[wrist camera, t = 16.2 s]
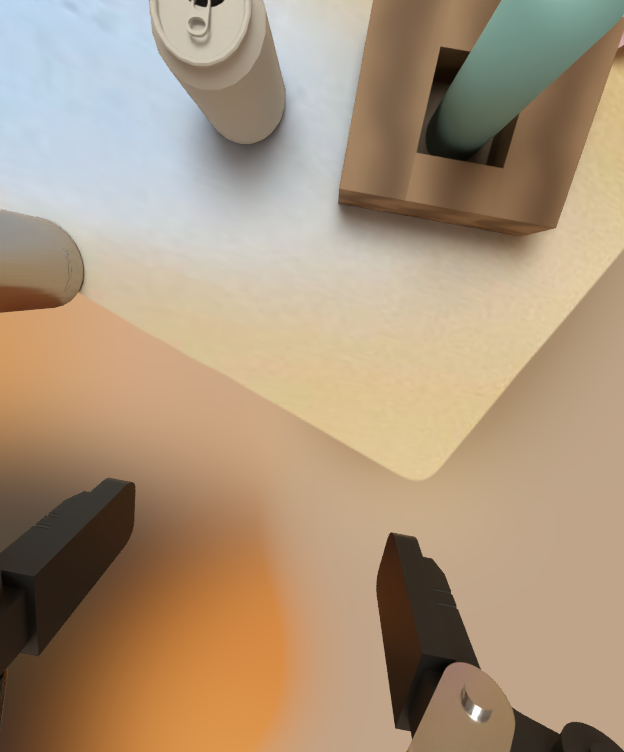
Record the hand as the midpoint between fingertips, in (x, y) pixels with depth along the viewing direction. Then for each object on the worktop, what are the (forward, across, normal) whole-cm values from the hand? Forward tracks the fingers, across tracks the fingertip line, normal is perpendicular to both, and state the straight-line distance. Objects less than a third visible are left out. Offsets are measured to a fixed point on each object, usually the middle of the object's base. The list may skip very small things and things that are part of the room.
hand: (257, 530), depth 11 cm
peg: (+27, -9, -22) cm, 36 cm away
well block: (+28, -9, -22) cm, 37 cm away
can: (+28, +10, -22) cm, 37 cm away
